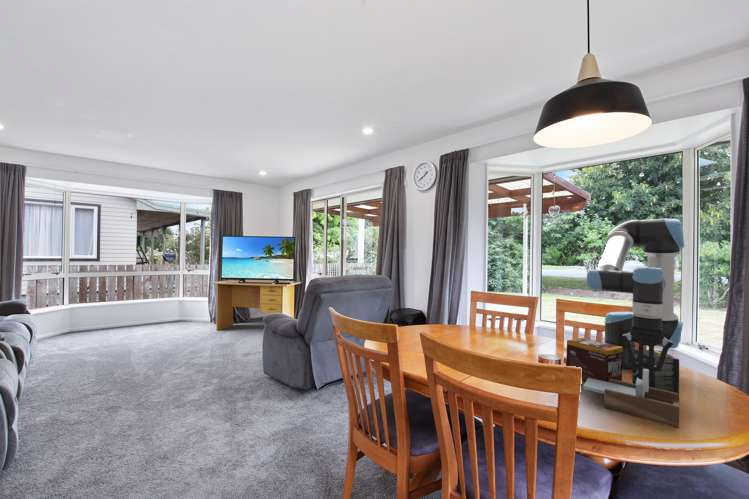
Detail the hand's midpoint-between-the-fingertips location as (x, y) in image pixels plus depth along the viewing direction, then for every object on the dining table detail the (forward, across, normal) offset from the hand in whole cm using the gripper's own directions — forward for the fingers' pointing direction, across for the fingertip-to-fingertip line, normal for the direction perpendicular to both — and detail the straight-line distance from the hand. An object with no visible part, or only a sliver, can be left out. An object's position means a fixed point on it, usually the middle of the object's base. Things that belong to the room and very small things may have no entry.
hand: (645, 390), depth 109 cm
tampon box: (+7, +2, +19) cm, 20 cm away
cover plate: (+3, -8, 0) cm, 9 cm away
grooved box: (+7, -1, 0) cm, 7 cm away
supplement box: (+7, -16, +15) cm, 23 cm away
